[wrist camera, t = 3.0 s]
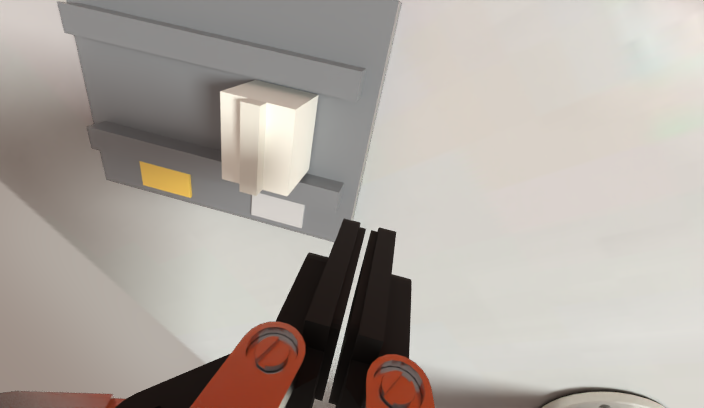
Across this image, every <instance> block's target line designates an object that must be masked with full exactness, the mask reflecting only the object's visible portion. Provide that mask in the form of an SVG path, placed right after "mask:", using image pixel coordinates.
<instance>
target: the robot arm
mask: <svg viewBox="0 0 704 408" xmlns="http://www.w3.org/2000/svg"><path fill="white" fill-rule="evenodd" d="M365 231H366V229H364V228H361V227H360V222H356V221H352V220H348V219H343V221H342V224H341V227H340V229H339V232H338V235H337V237H336V240H335V242H334V245H333V248H332V250H331V253H330V256H329V258H328V257H324V256H321V255H317V254H313V253H308V255H307V257H306V259H305V261H304V263H303V265H302V267H301V269H300V271H299V273H298V275H297V277H296V280H295V282H294V284H293V286H292V288H291V290H290V292H289V294H288V296H287V299H286V301H285V303H284V305H283V307H282V309H281V311H280V313H279V315H278V317H277V320H276V322H266V323H262V324H259V325H258V326H256V327H254V328H252V329H251V330H250V331H249V332H248V333H247V334H246V335H245V336H244V337H243V338H242V340H241V341H240V342H239V344H238V345H237V346H236V347H235V349H234V350H233V351H232V353H231V354H229V355H226V356H224V357H222V358H219V359H217V360H214V361H212V362H210V363H207V364H205V365H203V366H200V367H198V368H195V369H193V370H191V371H188V372H186V373H184V374H181V375H179V376H176V377H174V378H172V379H169V380H167V381H165V382H162V383H160V384H157V385H155V386H153V387H150V388H148V389H146V390H143V391H141V392H138V393H136V394H134V395H132V396H131V397H129V398H127V399H121V398H120V399H119V398H114V396H113V394H100V393H99V394H97V393H69V392H67V393H66V392H37V391H11V392H3V393H0V408H312V406H313V402H314V399H318V400H322V399H323V396H324V392H325V388H326V384H327V380H328V376H329V372H330V368H331V364H332V360H333V357H334V353H335V349H336V345H337V341H338V337H339V333H340V329H341V325H342V321H343V317H344V314H345V310H346V306H347V302H348V298H349V294H350V290H351V286H352V282H353V278H354V274H355V270H356V266H357V262H358V258H359V254H360V250H361V246H362V242H363V238H364V234H365ZM395 238H396V232H395V231H391V230H387V229H383V228H379V229H378V232H376V231H372V230H371V233H370V237H369V241H368V245H367V248H366V252H365V256H364V260H363V264H362V267H361V271H360V275H359V279H358V283H357V286H356V290H355V294H354V298H353V302H352V306H351V311H350V315H349V319H348V323H347V327H346V332H345V336H344V340H343V344H342V348H341V353H340V357H339V361H338V365H337V369H336V374H335V378H334V382H333V386H332V390H331V395H330V399H329V403H332V404H335V405H336V408H435V405H434V400H433V394H432V389H431V386H430V383H429V379H428V378H427V376H426V375H425V373H424V371H423V370H422V369H421V368H420V367H419V366H418V365H417V364H416V363H415V362H413V361H412V360H410V359H409V343H410V313H411V279H407V278H404V277H400V276H396V275H392V274H391V273H392V264H393V255H394V247H395ZM542 408H665V407H664V406H662V405H660V404H658V403H656V402H654V401H651V400H649V399H646V398H643V397H639V396H636V395H631V394H625V393H619V392H604V391H602V392H585V393H578V394H573V395H569V396H565V397H561V398H559V399H556V400H554V401H552V402H550V403H548V404H546V405H545V406H543V407H542Z"/></svg>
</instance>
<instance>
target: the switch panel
mask: <svg viewBox="0 0 704 408" xmlns="http://www.w3.org/2000/svg"><path fill="white" fill-rule="evenodd" d="M57 3H58V7H59V11H60V16H61V20H62V24H63V28H64V33H68V34H72V35H74V36H75V41H76V45H77V50H78V54H79V59H80V63H81V68H82V72H83V77H84V81H85V86H86V90H87V95H88V99H89V104H90V108H91V113H92V117H93V122H94V124H93V125H90V126H87V130H88V135H89V139H90V143H91V148H93V149H96V150H100V153H101V158H102V162H103V167H104V171H105V176H106V180H109V181H113V182H117V183H120V184H124V185H128V186H131V187H135V188H138V189H142V190H146V191H149V192H153V193H157V194H160V195H164V196H168V197H171V198H175V199H179V200H182V201H186V202H189V203H193V204H197V205H200V206H204V207H208V208H211V209H215V210H219V211H222V212H226V213H230V214H233V215H237V216H240V217H244V218H248V219H251V220H255V221H259V222H262V223H266V224H270V225H273V226H277V227H281V228H284V229H288V230H291V231H295V232H299V233H302V234H306V235H310V236H313V237H317V238H321V239H324V240H328V241H332V242H335V240H336V237H337V235H338V232H339V229H340V227H341V224H342V221H343V219H348V220H352V221H353V218H354V213H355V209H356V205H357V200H358V196H359V191H360V187H361V182H362V178H363V173H364V169H365V164H366V160H367V155H368V151H369V147H370V142H371V138H372V133H373V129H374V124H375V120H376V115H377V111H378V106H379V102H380V97H381V93H382V88H383V84H384V80H385V75H386V71H387V66H388V62H389V57H390V53H391V48H392V44H393V39H394V35H395V30H396V26H397V21H398V17H399V13H400V8H401V4H402V3H401V2H400V1H398V0H67V2H57ZM254 80H258V81H263V82H267V83H271V84H275V85H279V86H284V87H288V88H292V89H296V90H300V91H305V92H309V93H313V94H317V95H318V103H317V111H316V118H315V126H314V134H313V142H312V149H311V157H310V165H309V170H308V171H307V173H306V174H305V175H304V176H303V178H302V179H301V180H300V181H299V183H298V184H297V185H296V186H295V188H294V189H293V190H292V191H291V193H290V194H289V195H288V196H284V195H280V194H276V193H272V192H269V191H265V190H262V191H261V192H260V193H259V194H258V195H257V196H254V195H250V194H247V193H243V192H239V183H235V182H231V181H227V180H224V179H222V159H221V110H220V91H223V90H226V89H229V88H232V87H235V86H238V85H241V84H244V83H247V82H251V81H254Z"/></svg>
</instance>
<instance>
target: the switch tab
mask: <svg viewBox="0 0 704 408" xmlns="http://www.w3.org/2000/svg"><path fill="white" fill-rule="evenodd" d="M317 103H318V95H317V94H313V93H309V92H305V91H300V90H296V89H292V88H288V87H284V86H279V85H275V84H271V83H267V82H263V81H258V80H254V81H251V82H247V83H244V84H241V85H238V86H235V87H232V88H229V89H226V90H223V91H220V110H221V159H222V179H224V180H227V181H231V182H235V183H239V192H243V193H247V194H250V195H254V196H257V195H258V194H259V193H260V192H261V191H262V190H265V191H269V192H272V193H276V194H280V195H284V196H288V195H289V194H290V193H291V191H292V190H293V189H294V188H295V186H296V185H297V184H298V183H299V181H300V180H301V179H302V178H303V176H304V175H305V174H306V173H307V171H308V170H309V165H310V157H311V149H312V142H313V134H314V126H315V118H316V111H317Z"/></svg>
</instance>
